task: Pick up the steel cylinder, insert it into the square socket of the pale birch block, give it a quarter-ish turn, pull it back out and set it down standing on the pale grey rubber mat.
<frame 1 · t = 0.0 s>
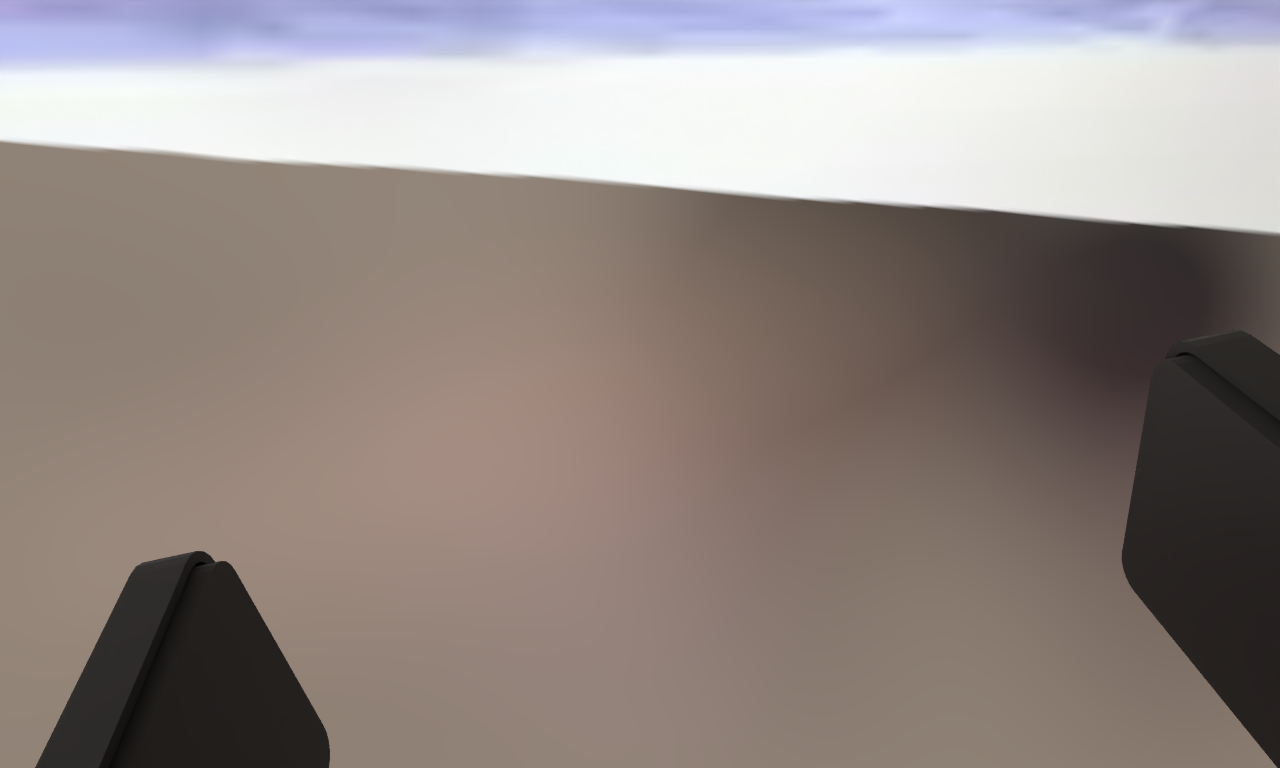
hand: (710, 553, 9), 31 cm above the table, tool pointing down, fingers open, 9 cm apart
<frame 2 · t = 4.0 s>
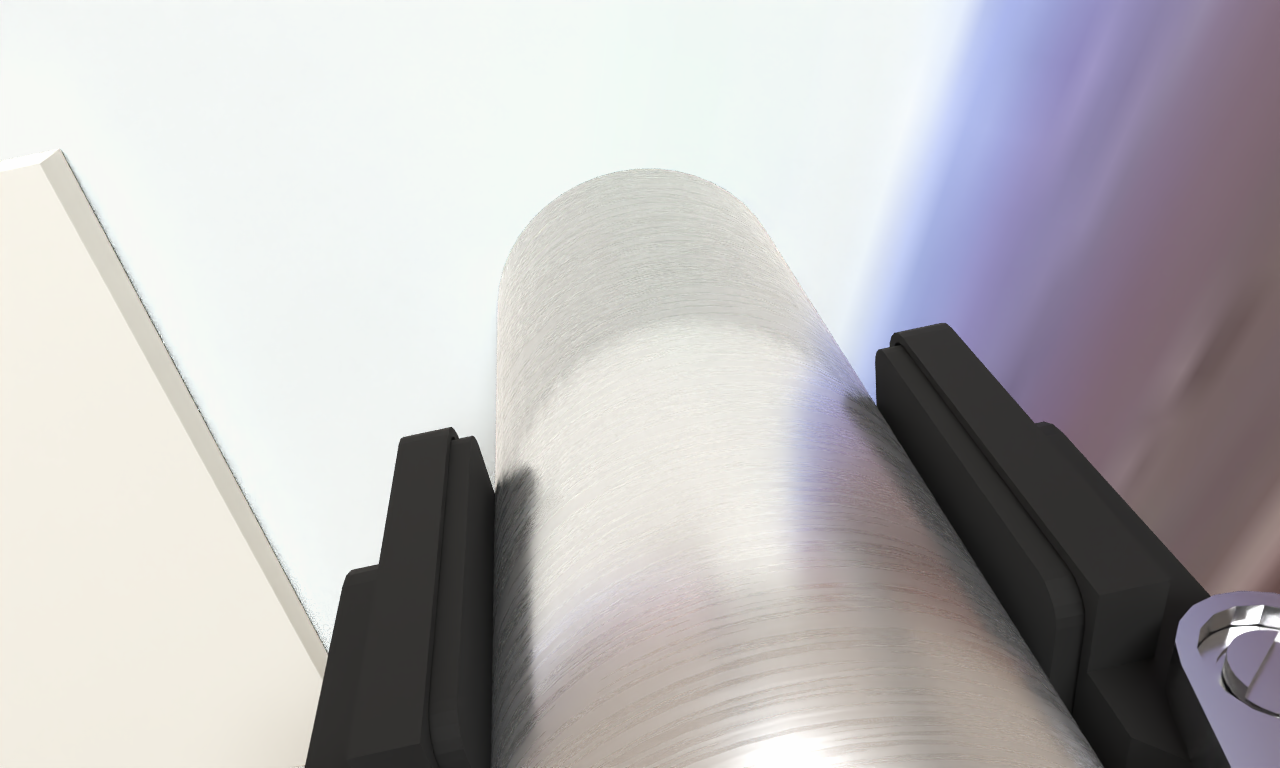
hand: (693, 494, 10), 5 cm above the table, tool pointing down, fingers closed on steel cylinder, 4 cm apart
steel cylinder: (642, 307, 14), on the table, touching gripper
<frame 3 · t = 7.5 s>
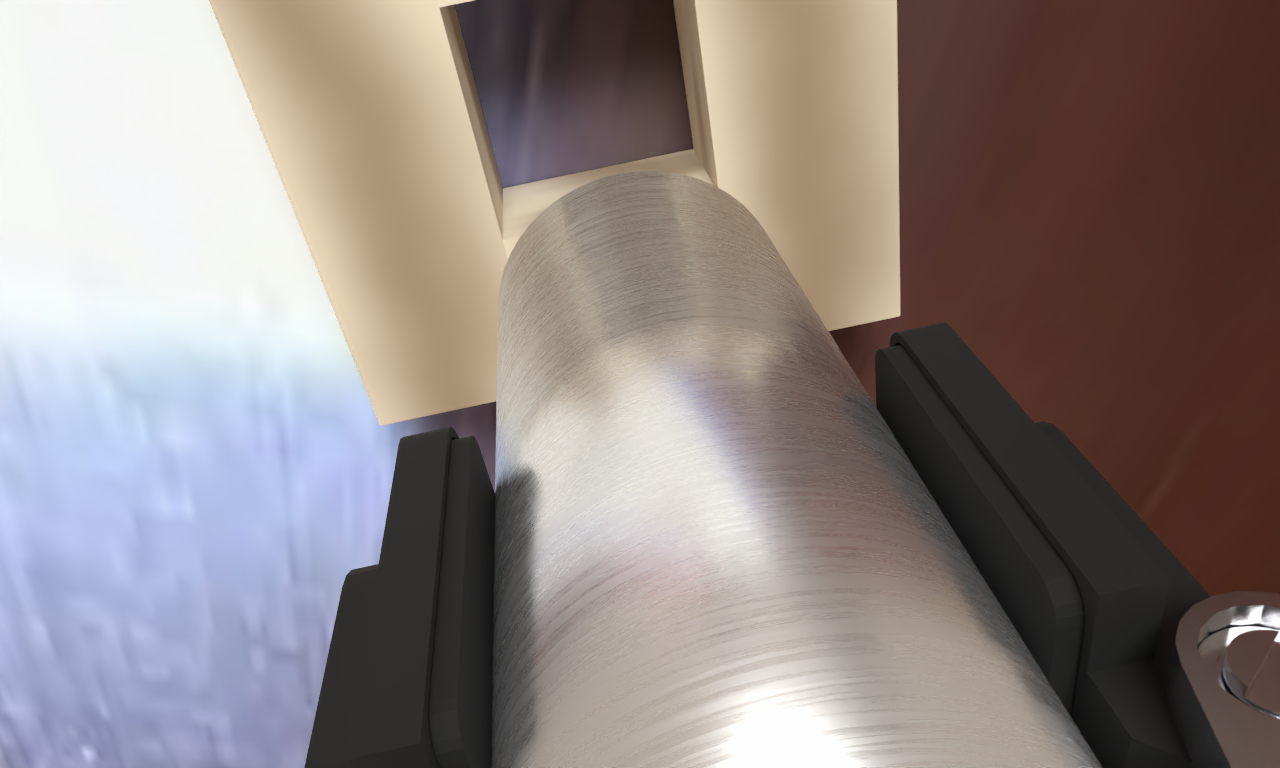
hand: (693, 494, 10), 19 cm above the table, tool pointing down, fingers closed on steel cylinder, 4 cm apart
steel cylinder: (642, 309, 14), point 15 cm above the table, touching gripper
socket block: (578, 70, 26), on the table
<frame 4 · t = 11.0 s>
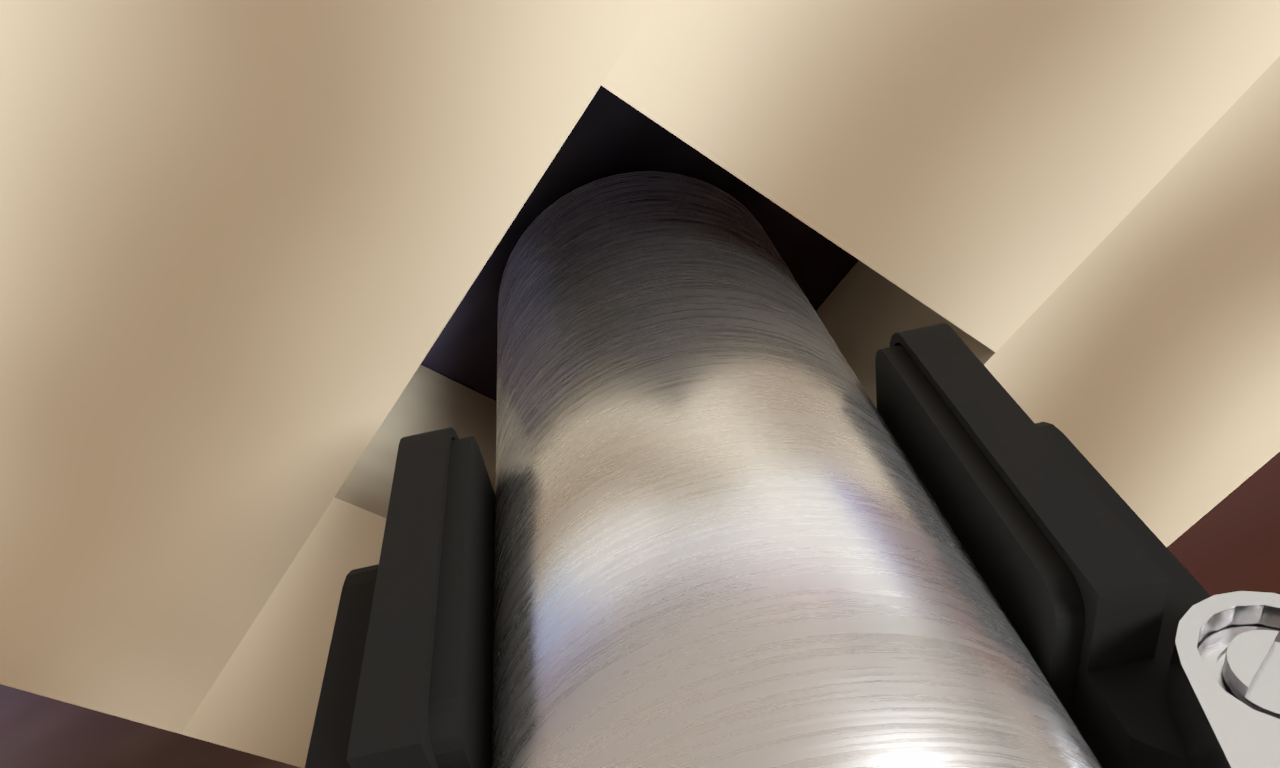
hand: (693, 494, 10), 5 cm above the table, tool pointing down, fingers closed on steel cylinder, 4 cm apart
steel cylinder: (642, 309, 14), point 1 cm above the table, touching gripper
socket block: (629, 285, 15), on the table
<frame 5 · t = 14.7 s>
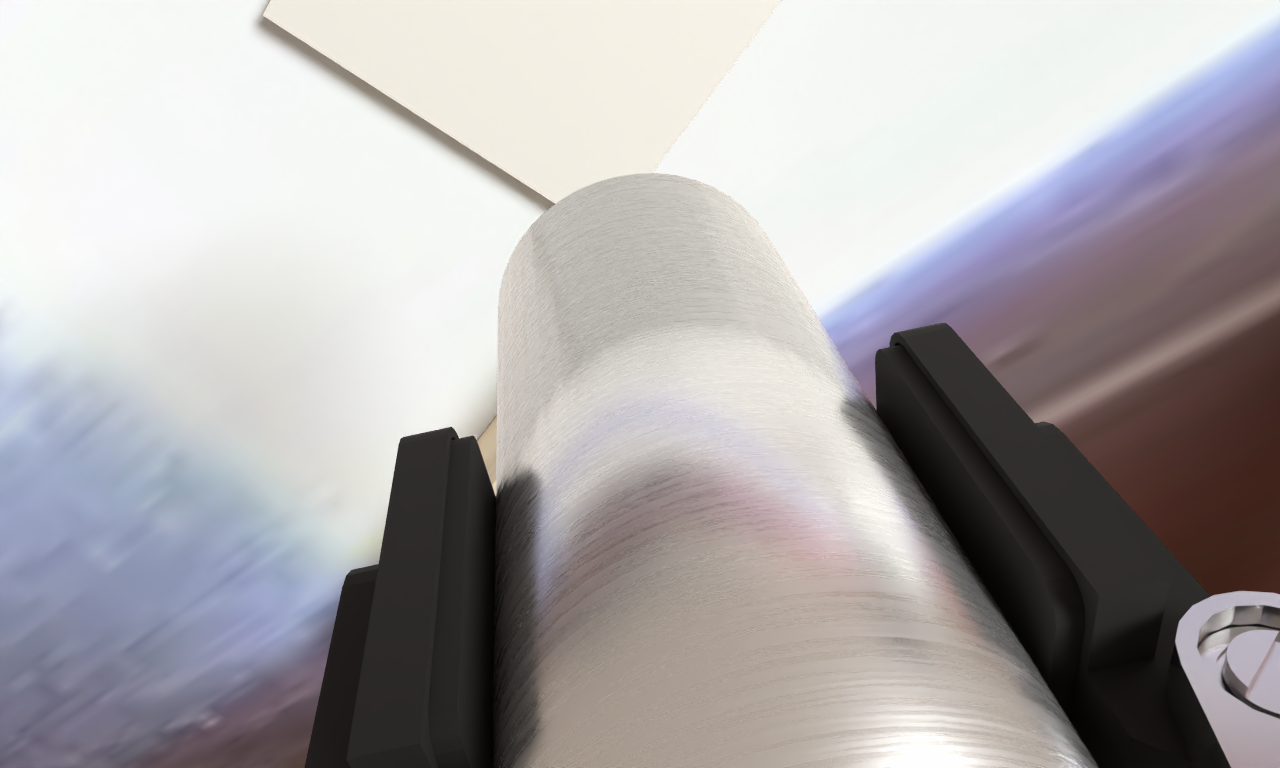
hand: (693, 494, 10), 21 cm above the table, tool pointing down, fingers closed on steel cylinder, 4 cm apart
steel cylinder: (642, 311, 14), point 17 cm above the table, touching gripper
socket block: (638, 526, 38), on the table
when the fingers open (7 cm above the table, at t = 18.1 s): steel cylinder drops 1 cm, resting on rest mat.
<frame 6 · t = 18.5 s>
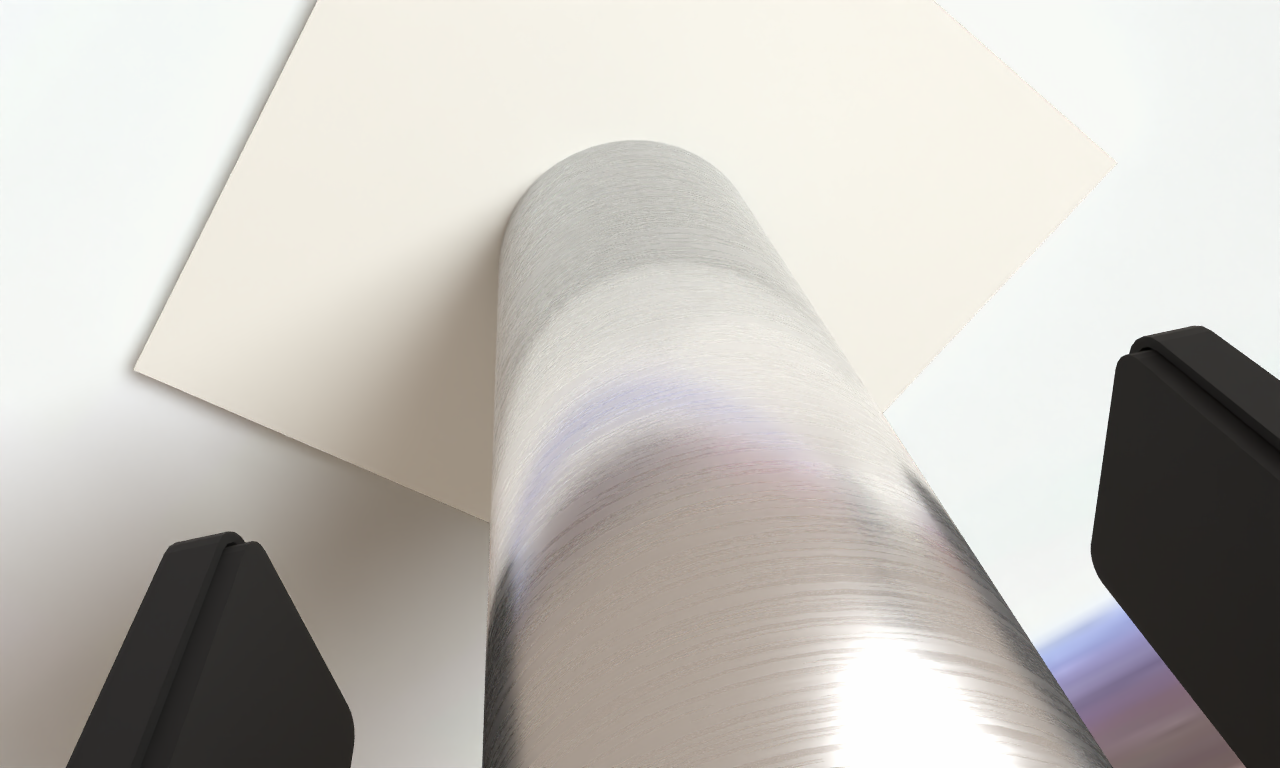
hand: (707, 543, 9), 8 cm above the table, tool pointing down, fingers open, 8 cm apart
steel cylinder: (630, 270, 15), point 1 cm above the table, touching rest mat
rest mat: (625, 251, 16), on the table
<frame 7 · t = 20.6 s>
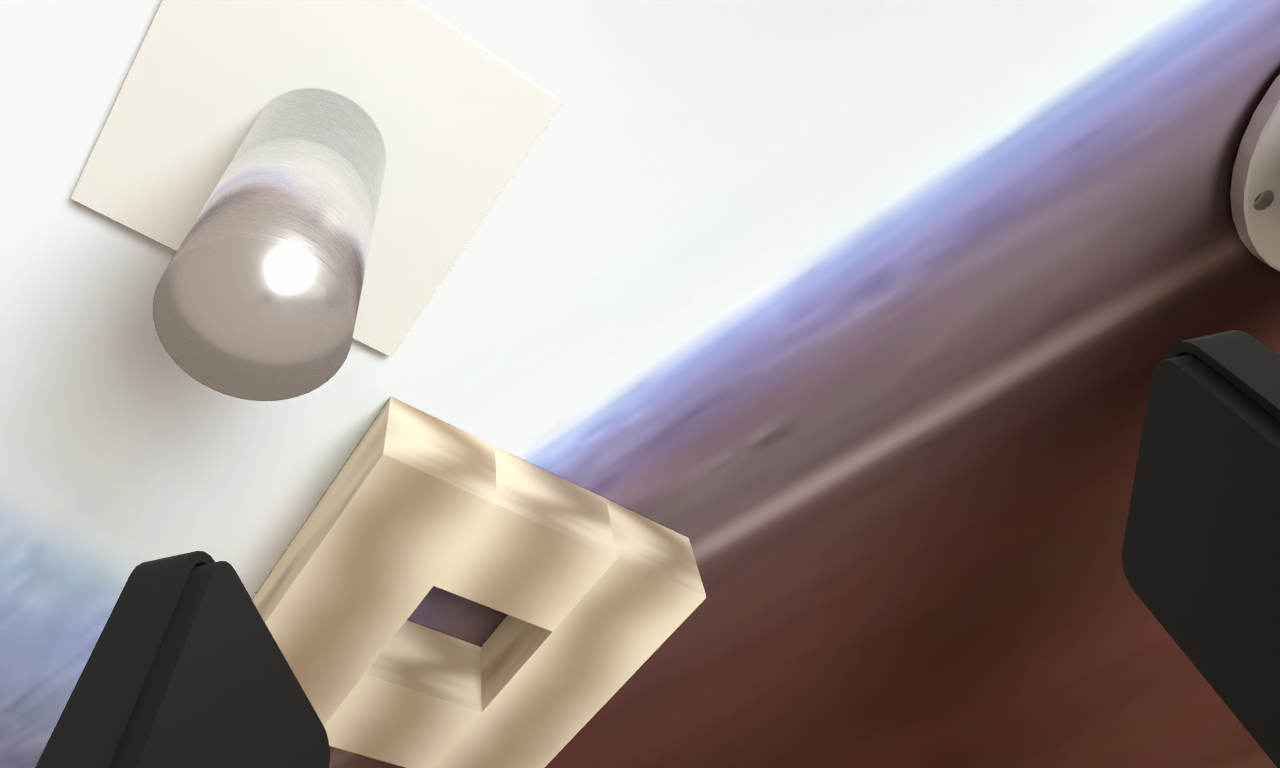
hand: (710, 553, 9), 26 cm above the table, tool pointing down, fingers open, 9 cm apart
steel cylinder: (319, 152, 31), point 1 cm above the table, touching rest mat
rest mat: (321, 145, 32), on the table
socket block: (459, 588, 44), on the table
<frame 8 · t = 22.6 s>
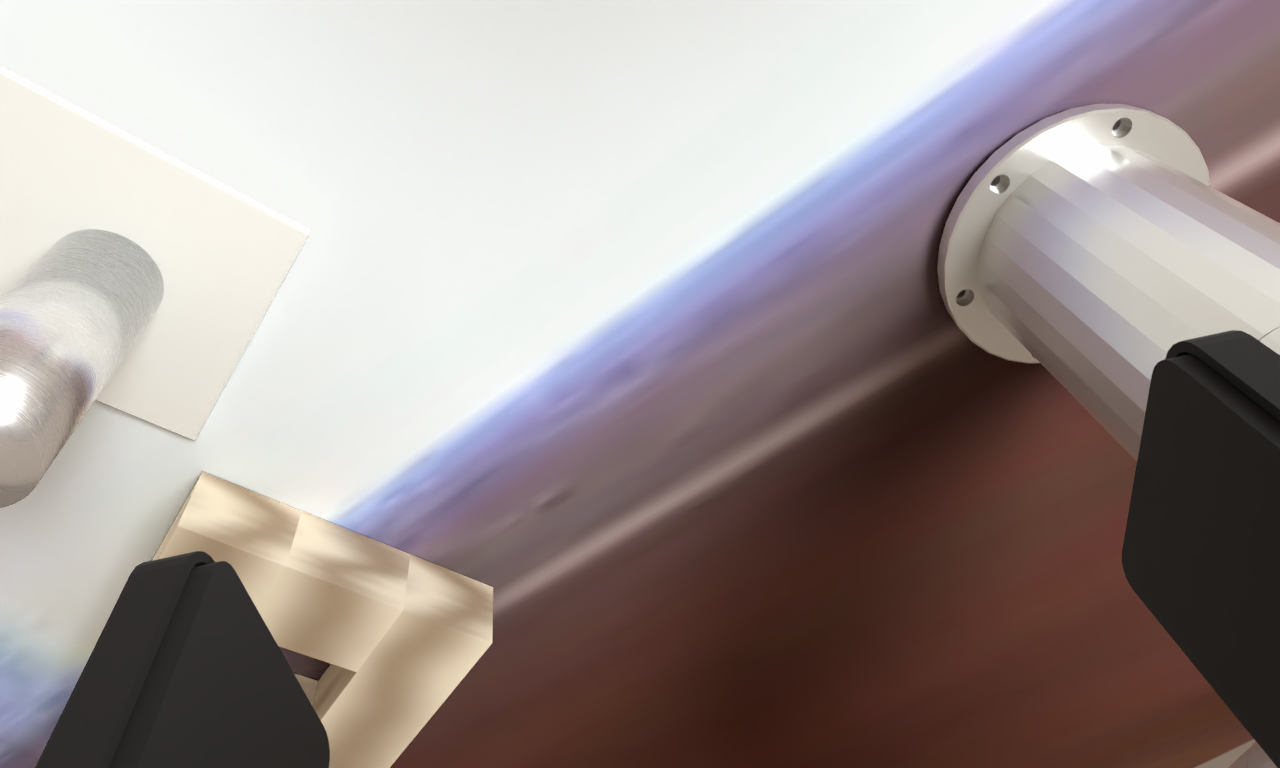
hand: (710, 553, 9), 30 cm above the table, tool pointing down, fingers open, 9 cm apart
steel cylinder: (106, 279, 37), point 1 cm above the table, touching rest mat
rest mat: (110, 271, 38), on the table
socket block: (290, 630, 50), on the table
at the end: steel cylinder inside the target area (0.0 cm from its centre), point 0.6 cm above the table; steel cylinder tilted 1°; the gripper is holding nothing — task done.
